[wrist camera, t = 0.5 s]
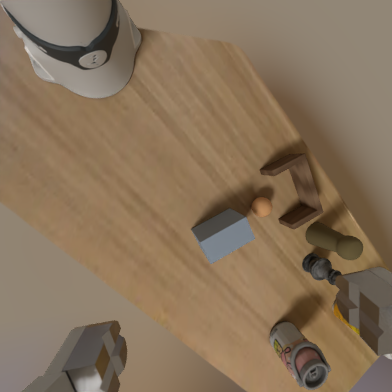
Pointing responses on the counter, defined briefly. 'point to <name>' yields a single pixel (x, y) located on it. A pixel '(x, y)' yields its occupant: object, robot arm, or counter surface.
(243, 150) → the counter surface
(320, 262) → the grey chess bishop
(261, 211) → the ball
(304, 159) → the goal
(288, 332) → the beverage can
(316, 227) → the olive pawn
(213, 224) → the block
